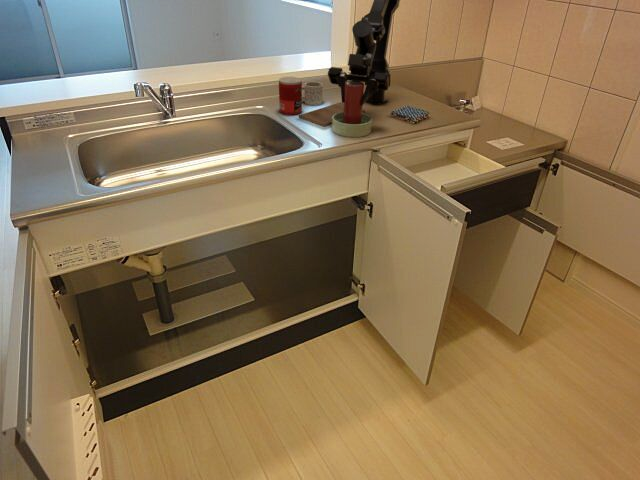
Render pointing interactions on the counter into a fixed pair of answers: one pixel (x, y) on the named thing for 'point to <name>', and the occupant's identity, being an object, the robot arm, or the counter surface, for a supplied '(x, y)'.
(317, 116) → the cutting board
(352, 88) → the drink can
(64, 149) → the counter surface
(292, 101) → the canned food
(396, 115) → the woven mat
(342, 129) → the bowl
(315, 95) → the mug
